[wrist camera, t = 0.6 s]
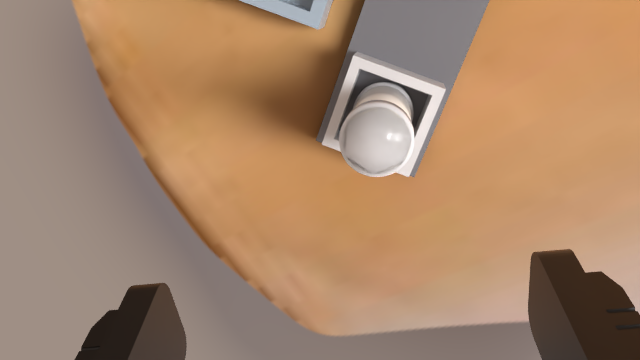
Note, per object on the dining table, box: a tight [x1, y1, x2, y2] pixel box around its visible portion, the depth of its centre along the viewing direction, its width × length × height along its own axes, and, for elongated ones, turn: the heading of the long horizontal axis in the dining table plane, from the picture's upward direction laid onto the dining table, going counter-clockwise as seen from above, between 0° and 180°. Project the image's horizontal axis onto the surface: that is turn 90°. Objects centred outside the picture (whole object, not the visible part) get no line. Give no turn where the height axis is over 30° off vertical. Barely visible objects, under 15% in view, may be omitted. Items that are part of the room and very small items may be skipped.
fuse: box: [339, 81, 414, 177], centre depth 33 cm, size 4×4×8 cm
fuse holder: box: [316, 0, 489, 177], centre depth 34 cm, size 19×7×4 cm, turn 161°
